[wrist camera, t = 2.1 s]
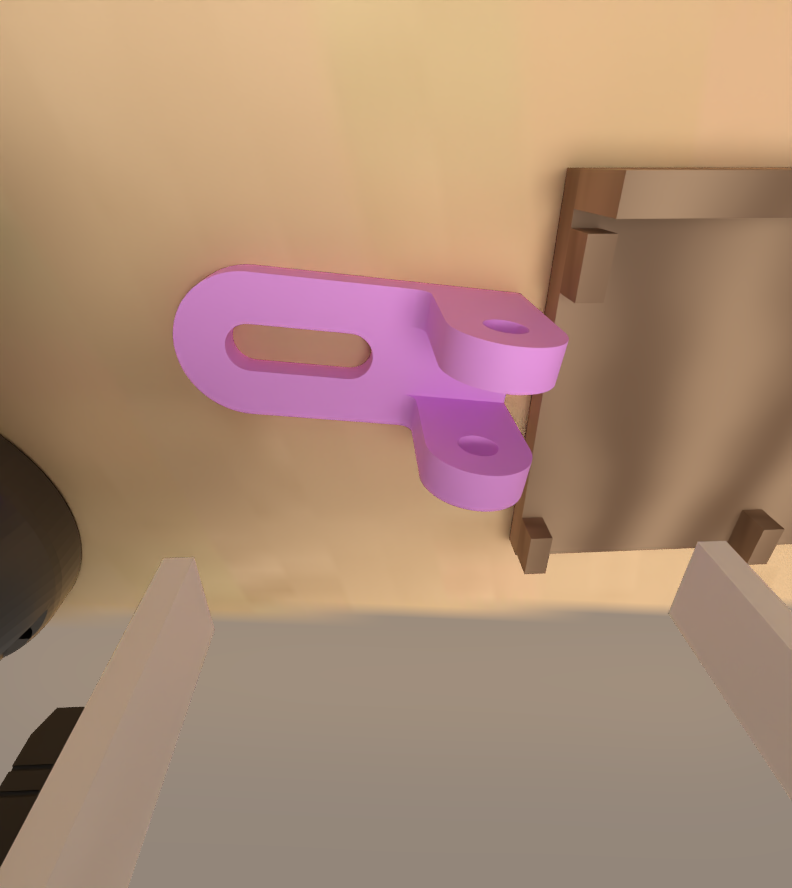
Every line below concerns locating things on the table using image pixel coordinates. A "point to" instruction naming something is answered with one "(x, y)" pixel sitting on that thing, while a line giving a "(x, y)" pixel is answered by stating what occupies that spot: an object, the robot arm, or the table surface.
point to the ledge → (665, 367)
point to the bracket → (385, 366)
